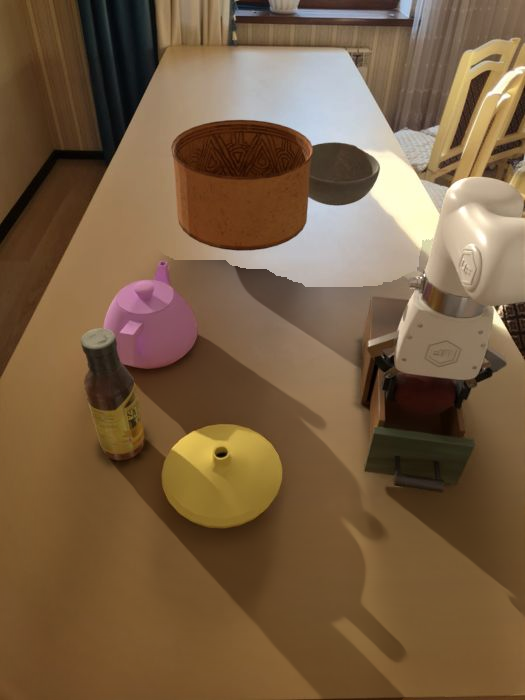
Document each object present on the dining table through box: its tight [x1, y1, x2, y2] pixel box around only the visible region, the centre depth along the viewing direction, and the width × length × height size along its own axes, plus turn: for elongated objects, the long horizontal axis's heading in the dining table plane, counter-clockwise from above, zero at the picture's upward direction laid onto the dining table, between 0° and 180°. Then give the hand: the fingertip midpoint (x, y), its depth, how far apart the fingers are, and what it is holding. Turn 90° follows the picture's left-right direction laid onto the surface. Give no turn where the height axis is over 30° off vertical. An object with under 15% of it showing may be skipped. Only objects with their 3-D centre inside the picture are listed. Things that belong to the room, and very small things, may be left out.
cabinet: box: [360, 295, 410, 406], centre depth 85 cm, size 15×14×10 cm
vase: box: [161, 423, 283, 529], centre depth 70 cm, size 16×16×7 cm
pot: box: [170, 119, 313, 252], centre depth 113 cm, size 28×28×20 cm
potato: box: [393, 372, 457, 416], centre depth 71 cm, size 7×8×6 cm
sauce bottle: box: [80, 327, 146, 461], centre depth 70 cm, size 6×6×20 cm
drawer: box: [363, 367, 476, 493], centre depth 73 cm, size 18×12×8 cm
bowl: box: [308, 141, 381, 207], centre depth 129 cm, size 20×20×10 cm
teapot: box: [103, 260, 199, 370], centre depth 89 cm, size 22×16×12 cm
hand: (421, 396), depth 72 cm, fingers closed on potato, 8 cm apart
